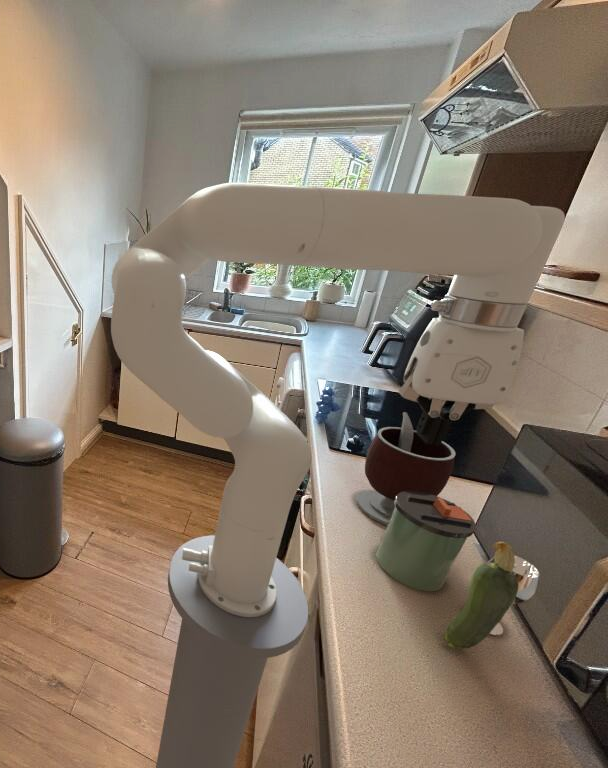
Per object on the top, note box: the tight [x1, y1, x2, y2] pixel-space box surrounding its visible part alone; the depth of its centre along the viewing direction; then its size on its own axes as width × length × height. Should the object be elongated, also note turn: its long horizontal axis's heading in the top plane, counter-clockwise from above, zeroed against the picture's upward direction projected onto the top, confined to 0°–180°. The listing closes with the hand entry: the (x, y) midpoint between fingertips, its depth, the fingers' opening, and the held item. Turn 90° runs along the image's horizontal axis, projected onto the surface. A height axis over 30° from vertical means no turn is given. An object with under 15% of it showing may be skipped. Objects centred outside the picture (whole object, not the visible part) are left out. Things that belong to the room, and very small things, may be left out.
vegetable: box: [444, 541, 518, 650], centre depth 55 cm, size 4×4×20 cm
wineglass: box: [487, 554, 541, 636], centre depth 62 cm, size 6×6×12 cm
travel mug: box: [375, 491, 477, 592], centre depth 71 cm, size 11×11×14 cm
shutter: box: [433, 497, 472, 523], centre depth 68 cm, size 4×4×2 cm
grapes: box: [314, 386, 341, 423], centre depth 124 cm, size 12×7×12 cm, turn 149°
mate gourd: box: [355, 411, 456, 526], centre depth 85 cm, size 16×14×20 cm
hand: (427, 439), depth 58 cm, fingers closed
